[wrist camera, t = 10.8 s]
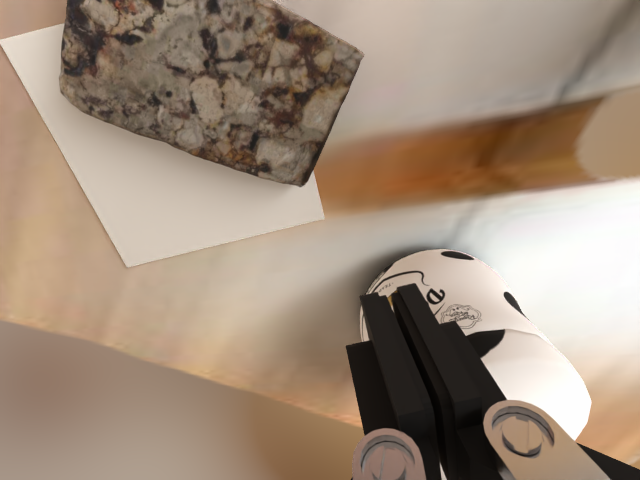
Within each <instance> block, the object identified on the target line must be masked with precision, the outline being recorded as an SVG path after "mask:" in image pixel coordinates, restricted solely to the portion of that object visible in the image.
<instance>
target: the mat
mask: <svg viewBox="0 0 640 480" xmlns="http://www.w3.org/2000/svg"><path fill="white" fill-rule="evenodd" d="M64 24H65V23H62V24H58V25H55V26H51V27H47V28H43V29H39V30H35V31H32V32H28V33H24V34H20V35H16V36H12V37H9V38H5V39H1V40H0V44H1V46H2V48H3V49H4V51H5V53H6V55H7V56H8V58H9V60H10V62H11V64H12V65H13V67H14V69H15V71H16V72H17V74H18V76H19V78H20V79H21V81H22V83H23V85H24V86H25V88H26V90H27V92H28V94H29V95H30V97H31V99H32V101H33V102H34V104H35V106H36V108H37V109H38V111H39V113H40V115H41V117H42V118H43V120H44V122H45V124H46V125H47V127H48V129H49V131H50V132H51V134H52V136H53V138H54V140H55V141H56V143H57V145H58V147H59V148H60V150H61V152H62V154H63V155H64V157H65V159H66V161H67V162H68V164H69V166H70V168H71V170H72V171H73V173H74V175H75V177H76V178H77V180H78V182H79V184H80V185H81V187H82V189H83V191H84V193H85V194H86V196H87V198H88V200H89V201H90V203H91V205H92V207H93V208H94V210H95V212H96V214H97V216H98V217H99V219H100V221H101V223H102V224H103V226H104V228H105V230H106V231H107V233H108V235H109V237H110V238H111V240H112V242H113V244H114V246H115V247H116V249H117V251H118V253H119V254H120V256H121V258H122V260H123V261H124V263H125V265H126V267H127V268H128V267H132V266H136V265H140V264H144V263H148V262H152V261H156V260H160V259H164V258H168V257H172V256H176V255H180V254H184V253H188V252H192V251H197V250H201V249H205V248H209V247H213V246H217V245H221V244H225V243H229V242H233V241H237V240H241V239H245V238H249V237H253V236H257V235H261V234H265V233H269V232H274V231H278V230H282V229H286V228H290V227H294V226H298V225H302V224H306V223H310V222H314V221H318V220H322V219H325V217H324V213H323V208H322V204H321V200H320V196H319V192H318V188H317V184H316V180H315V175H314V171H313V172H312V174H311V176H310V178H309V180H308V182H307V183H306V184H305V185H304V186H302V187H298V186H295V185H289V184H282V183H278V182H274V181H271V180H267V179H262V178H258V177H256V176H253V175H251V174H248V173H244V172H240V171H236V170H234V169H232V168H229V167H226V166H223V165H221V164H217V163H214V162H211V161H208V160H204V159H202V158H199V157H195V156H193V155H191V154H189V153H187V152H185V151H182V150H179V149H177V148H174V147H172V146H171V145H169V144H167V143H165V142H162V141H158V140H154V139H151V138H147V137H144V136H140V135H137V134H134V133H132V132H130V131H127V130H125V129H122V128H120V127H117V126H115V125H112V124H109V123H106V122H103V121H101V120H99V119H97V118H94V117H92V116H90V115H87V114H85V113H83V112H81V111H80V110H79V109H78V108H76V107H75V106H74V105H72V104H71V103H70V102H69V101H68V100H67V99H66V98H65V97H64V96H63V95H62V94H61V92H60V85H59V75H60V72H61V43H62V36H63V30H64Z"/></svg>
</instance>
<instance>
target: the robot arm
mask: <svg viewBox="0 0 640 480" xmlns="http://www.w3.org/2000/svg"><path fill="white" fill-rule="evenodd" d="M396 290H397V292H395V293H391V299H392V305H393V310H392V308H391V305H390V303H389V301H388V298H387V296H386V295H383V296H379V294H378V292H374V293H370V294H366V295H361V296H360V300H361V305H362V310H363V314H364V319H365V324H366V328H367V333H368V338H369V341H364V342H360V343H356V344H352V345H347V346H346V349H347V354H348V359H349V364H350V368H351V373H352V378H353V383H354V387H355V392H356V397H357V401H358V406H359V411H360V416H361V420H362V425H363V430H364V434H365V436H364V437H363V438H362V439H361V441H360V442H359V443H358V445H357V447H356V449H355V451H354V456H353V463H352V467H353V477H352V479H351V480H442V478H441V469H440V464H441V466H442V469H443V472H444V474H445V477H446V479H447V480H640V470H639V469H637V468H635V467H632V466H630V465H628V464H625V463H623V462H621V461H618V460H616V459H614V458H611V457H609V456H607V455H604V454H602V453H600V452H597V451H595V450H592V449H590V448H588V447H585V446H583V445H581V444H578V443H576V442H575V441H574V440H573V439H572V438H571V437H570V436H569V435H568V434H567V433H566V432H565V431H564V430H563V428H562V427H561V426H560V425H559V424H558V423H557V422H556V421H555V420H554V419H553V418H552V417H551V416H550V415H548V414H547V413H546V412H545V411H544V410H542V409H540V408H539V407H537V406H535V405H533V404H531V403H527V402H524V401H520V400H507V398H506V397H505V395H504V394H503V392H502V391H501V389H500V388H499V386H498V385H497V383H496V382H495V380H494V378H493V377H492V375H491V374H490V372H489V371H488V369H487V368H486V366H485V365H484V363H483V362H482V360H481V358H480V357H479V355H478V354H477V352H476V351H475V349H474V348H473V346H472V345H471V343H470V342H469V340H468V338H467V337H466V335H465V334H464V332H463V331H462V329H461V328H460V326H459V325H458V324H457V322H455V321H450V322H446V323H441V324H439V322H438V321H437V319H436V317H435V315H434V314H433V312H432V310H431V309H430V307H429V305H428V303H427V302H426V300H425V298H424V297H423V295H422V293H421V291H420V290H419V288H418V286H417V285H416V283H412V284H408V285H404V286H399V287H397V289H396ZM393 311H394V312H393Z"/></svg>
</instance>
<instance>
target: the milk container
mask: <svg viewBox="0 0 640 480" xmlns="http://www.w3.org/2000/svg"><path fill="white" fill-rule="evenodd" d="M412 283H416V285H417V286H418V288H419V290H420V291H421V293H422V295H423V297H424V298H425V300H426V302H427V303H428V305H429V307H430V309H431V310H432V312H433V314H434V315H435V317H436V319H437V321H438V322H439V324H441V323H446V322H450V321H455V322H457V324H458V325H459V326H460V328H461V329H462V331H463V332H464V334H465V335H466V337H467V338H468V340H469V342H470V343H471V345H472V346H473V348H474V349H475V351H476V352H477V354H478V355H479V357H480V358H481V360H482V362H483V363H484V365H485V366H486V368H487V369H488V371H489V372H490V374H491V375H492V377H493V378H494V380H495V382H496V383H497V385H498V386H499V388H500V389H501V391H502V392H503V394H504V395H505V397H506V398H507V400H520V401H524V402H527V403H531V404H533V405H535V406H537V407H539V408H540V409H542V410H544V411H545V412H546V413H547V414H548V415H550V416H551V417H552V418H553V419H554V420H555V421H556V422H557V423H558V424H559V425H560V426H561V427H562V428H563V430H564V431H565V432H566V433H567V434H568V435H569V436H570V437H571V438H572V439H573V440H574V441H575V440H576V438H577V437H578V435H579V434H580V432H581V431H582V429H583V428H584V427H585V425H586V424H587V421H588V416H589V412H590V407H591V399H590V397H589V394H588V391H587V389H586V386H585V384H584V382H583V380H582V379H581V377H580V375H579V374H578V373H577V371H576V370H575V369H574V367H573V366H572V365H571V363H570V362H569V361H568V360H567V358H566V357H565V356H564V355H563V354H562V353H561V352H559V351H558V350H557V349H556V348H555V347H554V346H553V345H552V343H551V342H550V341H549V339H548V338H547V337H546V336H545V335H544V334H543V333H542V332H541V331H540V330H539V329H538V328H537V327H536V326H535V325H534V324H533V323H532V322H531V321H530V320H529V319H527V317H526V316H525V315H524V314H523V313H522V311H521V309H520V307H519V305H518V303H517V301H516V298H515V296H514V295H513V293H512V291H511V289H510V287H509V286H508V285H507V283H506V282H505V281H504V280H503V278H502V277H501V276H500V275H499V274H498V273H497V272H496V271H494V270H493V269H492V268H491V267H489V266H488V265H487V264H485V263H484V262H482V261H480V260H479V259H477V258H475V257H473V256H471V255H469V254H467V253H464V252H460V251H456V250H449V249H434V250H424V251H419V252H416V253H413V254H411V255H408V256H406V257H403V258H401V259H399V260H397V261H396V262H394V263H393V264H391V265H390V266H389V267H387V268H386V269H385V270H384V271H382V272H381V273H380V274H379V275H378V276H377V277H376V279H375V280H374V281H373V283H372V284H371V286H370V287H369V289H368V291H367V292H366V294H370V293H374V292H378V294H379V296H383V295H386V296H387V298H388V301H389V303H390V305H391V308H392V310H393V305H392V299H391V293H395V292H397V290H396V289H397V287H399V286H404V285H408V284H412ZM366 294H365V295H366ZM393 312H394V311H393ZM360 333H361V340H362V342H364V341H369V338H368V333H367V328H366V324H365V319H364V314H363V310H362V305H361V310H360ZM440 469H441V478H442V480H447V479H446V477H445V474H444V472H443V469H442V466H441V464H440Z"/></svg>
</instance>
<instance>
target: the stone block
mask: <svg viewBox="0 0 640 480" xmlns="http://www.w3.org/2000/svg"><path fill="white" fill-rule="evenodd" d="M363 57H364V54H363V52H362V51H360V50H358V49H357V48H356V47H354V46H352V45H350V44H349V43H347V42H345V41H343V40H342V39H340V38H338V37H336V36H334V35H332V34H330V33H329V32H327V31H326V30H324V29H322V28H320V27H318V26H317V25H315V24H313V23H312V22H310V21H309V20H306V19H304V18H303V17H301V16H299V15H298V14H296V13H294V12H292V11H290V10H288V9H287V8H285V7H283V6H281V5H279V4H278V3H276V2H274V1H273V0H67V11H66V19H65V24H64V30H63V36H62V43H61V72H60V75H59V85H60V92H61V94H62V95H63V96H64V97H65V98H66V99H67V100H68V101H69V102H70V103H71V104H72V105H74V106H75V107H76V108H78V109H79V110H80V111H81V112H83V113H85V114H87V115H90V116H92V117H94V118H97V119H99V120H101V121H103V122H106V123H109V124H112V125H115V126H117V127H120V128H122V129H125V130H127V131H130V132H132V133H134V134H137V135H140V136H144V137H147V138H151V139H154V140H158V141H162V142H165V143H167V144H169V145H171V146H172V147H174V148H177V149H179V150H182V151H185V152H187V153H189V154H191V155H193V156H195V157H199V158H202V159H204V160H208V161H211V162H214V163H217V164H221V165H223V166H226V167H229V168H232V169H234V170H236V171H240V172H244V173H248V174H251V175H253V176H256V177H258V178H262V179H267V180H271V181H274V182H278V183H282V184H289V185H295V186H298V187H302V186H304V185H305V184H306V183H307V182H308V180H309V178H310V176H311V174H312V172H313V169H314V167H315V165H316V163H317V160H318V158H319V156H320V154H321V151H322V149H323V147H324V145H325V142H326V140H327V138H328V135H329V133H330V131H331V129H332V126H333V124H334V121H335V119H336V117H337V114H338V112H339V110H340V107H341V105H342V103H343V101H344V100H345V97H346V95H347V93H348V91H349V88H350V85H351V83H352V81H353V79H354V76H355V74H356V72H357V70H358V67H359V64H360V61H361V60H362V58H363Z"/></svg>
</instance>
